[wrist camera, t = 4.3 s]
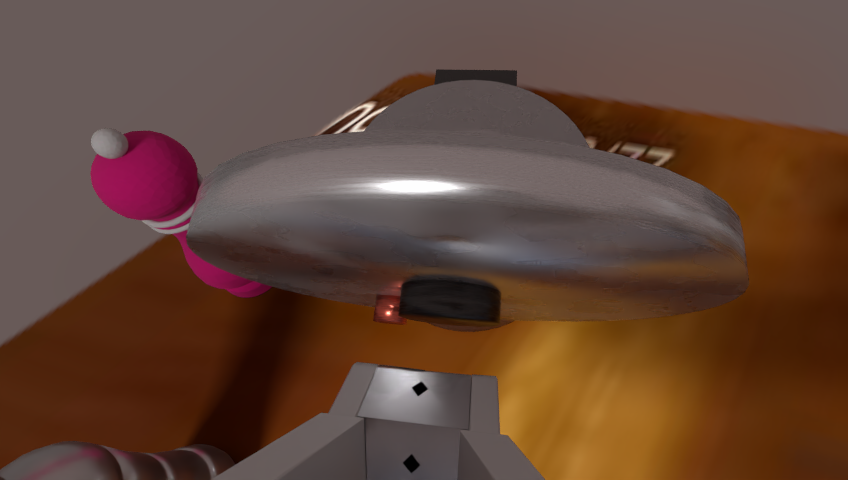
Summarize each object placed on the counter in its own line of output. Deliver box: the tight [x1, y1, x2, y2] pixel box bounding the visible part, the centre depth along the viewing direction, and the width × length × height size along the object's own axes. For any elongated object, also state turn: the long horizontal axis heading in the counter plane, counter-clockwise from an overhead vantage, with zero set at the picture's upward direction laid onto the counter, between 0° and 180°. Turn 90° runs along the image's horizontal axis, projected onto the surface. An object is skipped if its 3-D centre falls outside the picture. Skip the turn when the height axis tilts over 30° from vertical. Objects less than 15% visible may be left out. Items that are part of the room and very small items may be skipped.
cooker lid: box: [186, 130, 749, 327], centre depth 17 cm, size 19×19×3 cm
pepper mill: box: [91, 128, 272, 298], centre depth 33 cm, size 7×7×20 cm
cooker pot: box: [365, 70, 589, 332], centre depth 36 cm, size 18×22×12 cm
